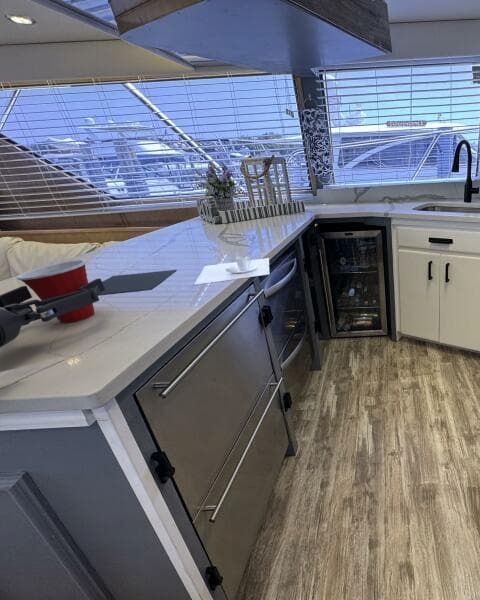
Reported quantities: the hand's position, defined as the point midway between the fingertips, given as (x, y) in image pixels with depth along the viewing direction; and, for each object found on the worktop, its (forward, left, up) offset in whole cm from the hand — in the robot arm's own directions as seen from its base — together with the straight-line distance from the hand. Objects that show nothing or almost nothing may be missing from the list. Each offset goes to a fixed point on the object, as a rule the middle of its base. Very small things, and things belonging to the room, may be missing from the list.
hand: (65, 287), depth 70 cm
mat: (0, +23, -7) cm, 24 cm away
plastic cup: (0, -1, -7) cm, 7 cm away
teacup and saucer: (+28, +25, -7) cm, 38 cm away
